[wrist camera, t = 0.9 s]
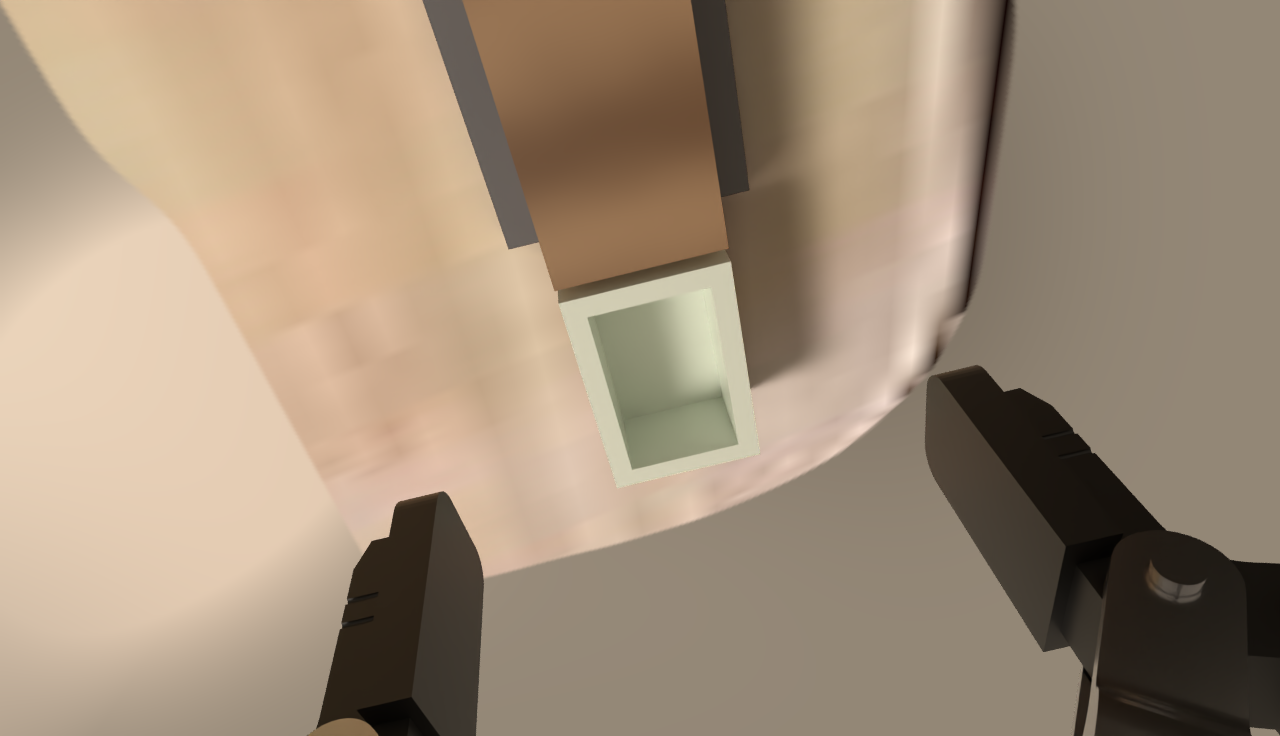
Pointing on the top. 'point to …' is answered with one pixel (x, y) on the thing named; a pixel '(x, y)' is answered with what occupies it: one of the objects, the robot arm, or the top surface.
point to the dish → (664, 367)
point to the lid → (605, 130)
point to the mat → (490, 136)
